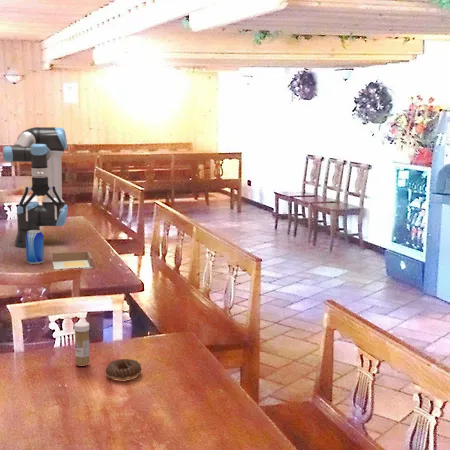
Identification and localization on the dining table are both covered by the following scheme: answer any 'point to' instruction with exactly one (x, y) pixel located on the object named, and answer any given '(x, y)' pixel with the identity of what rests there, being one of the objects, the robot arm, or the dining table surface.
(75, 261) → the tray
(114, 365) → the donut
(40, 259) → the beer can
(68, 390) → the dining table surface
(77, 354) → the sprinkles bottle
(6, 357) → the dining table surface
